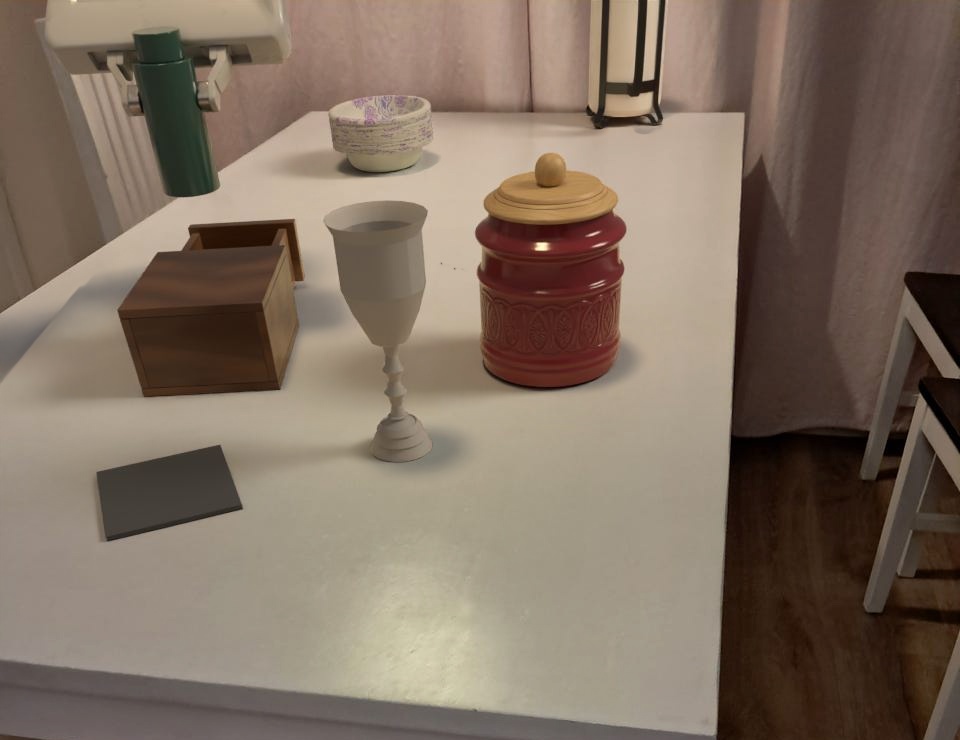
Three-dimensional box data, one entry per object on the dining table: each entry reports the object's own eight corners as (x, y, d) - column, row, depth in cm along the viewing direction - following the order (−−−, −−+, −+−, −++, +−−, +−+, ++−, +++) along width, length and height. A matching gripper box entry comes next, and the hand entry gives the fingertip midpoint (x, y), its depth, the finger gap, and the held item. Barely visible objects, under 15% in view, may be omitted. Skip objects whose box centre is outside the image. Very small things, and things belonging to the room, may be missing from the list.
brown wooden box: (178, 331, 96) (157, 251, 90) (299, 325, 96) (285, 244, 90) (143, 396, 85) (116, 310, 79) (280, 389, 85) (262, 302, 79)
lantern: (556, 123, 155) (558, -107, 135) (618, 104, 162) (629, -115, 143) (635, 139, 145) (650, -106, 125) (698, 118, 153) (722, -115, 133)
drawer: (210, 270, 106) (197, 213, 102) (309, 265, 106) (299, 207, 102) (177, 332, 93) (160, 269, 89) (289, 326, 93) (277, 262, 89)
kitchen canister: (626, 334, 90) (638, 133, 78) (610, 395, 81) (621, 177, 69) (496, 328, 93) (490, 132, 81) (466, 386, 83) (453, 175, 72)
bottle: (152, 191, 82) (111, 32, 74) (198, 178, 85) (163, 23, 77) (185, 201, 80) (147, 37, 72) (231, 186, 83) (199, 27, 75)
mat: (97, 475, 74) (96, 471, 74) (221, 448, 77) (220, 444, 77) (107, 541, 67) (105, 536, 67) (243, 508, 70) (241, 504, 69)
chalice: (439, 421, 79) (421, 196, 67) (451, 461, 74) (434, 225, 62) (354, 431, 78) (320, 206, 66) (360, 472, 73) (325, 236, 61)
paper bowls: (337, 183, 134) (329, 121, 129) (333, 156, 145) (325, 98, 140) (441, 173, 135) (437, 112, 130) (429, 147, 147) (425, 90, 141)
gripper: (28, -70, 76) (31, 92, 75) (276, -83, 75) (282, 78, 75) (63, -11, 82) (66, 139, 81) (293, -23, 82) (298, 127, 81)
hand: (172, 110), depth 78 cm, fingers closed on bottle, 5 cm apart
